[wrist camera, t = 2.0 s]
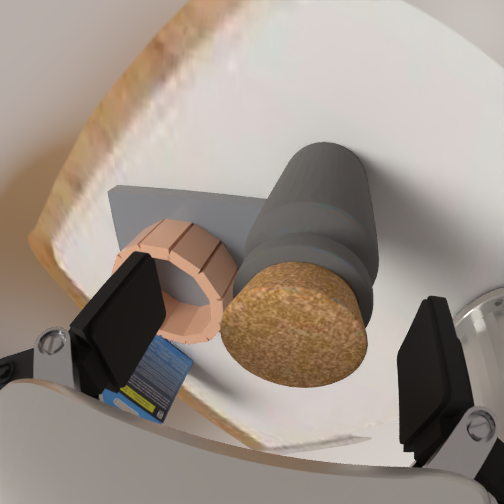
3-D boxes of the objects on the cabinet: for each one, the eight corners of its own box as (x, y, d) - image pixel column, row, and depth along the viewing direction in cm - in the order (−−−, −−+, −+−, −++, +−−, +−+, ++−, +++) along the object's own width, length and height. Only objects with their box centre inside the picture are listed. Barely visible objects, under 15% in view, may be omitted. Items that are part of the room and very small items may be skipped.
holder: (269, 199, 24) (249, 235, 19) (263, 330, 31) (248, 373, 27) (117, 185, 27) (78, 211, 22) (142, 301, 34) (117, 335, 30)
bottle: (271, 193, 23) (183, 350, 11) (308, 125, 20) (244, 231, 8) (339, 231, 23) (318, 413, 11) (382, 169, 20) (426, 332, 8)
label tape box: (128, 326, 38) (78, 398, 28) (141, 315, 36) (86, 393, 26) (179, 368, 40) (140, 443, 30) (196, 360, 38) (154, 442, 28)
